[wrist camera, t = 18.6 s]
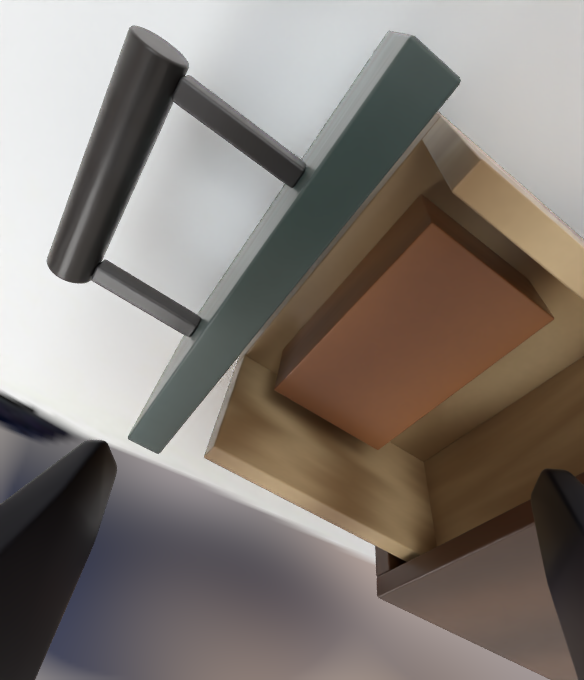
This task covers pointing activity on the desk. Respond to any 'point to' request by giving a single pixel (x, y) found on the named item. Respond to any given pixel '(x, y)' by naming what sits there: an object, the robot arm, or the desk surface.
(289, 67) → the desk surface
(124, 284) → the drawer
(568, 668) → the cabinet
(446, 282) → the brown rectangular box
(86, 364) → the desk surface
